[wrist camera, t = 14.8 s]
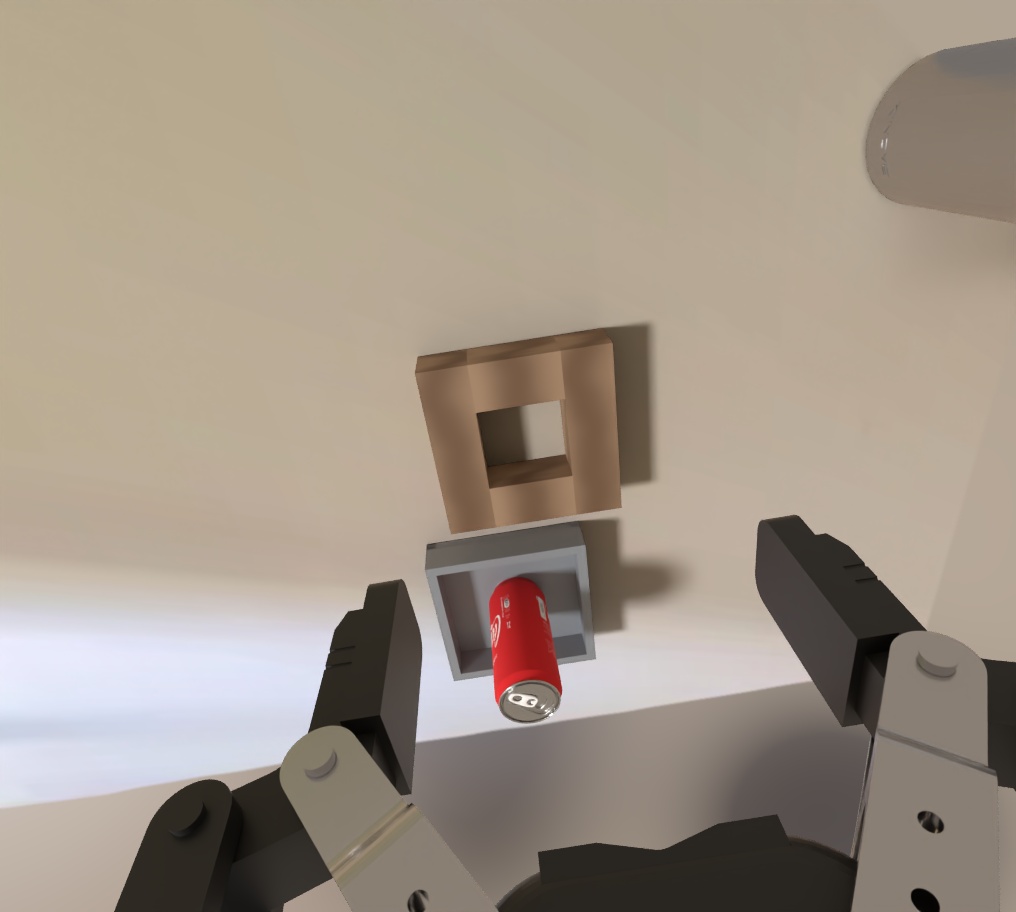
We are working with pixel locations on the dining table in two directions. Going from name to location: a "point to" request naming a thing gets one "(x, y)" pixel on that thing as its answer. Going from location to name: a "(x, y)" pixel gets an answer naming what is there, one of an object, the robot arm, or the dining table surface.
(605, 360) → the socket holder
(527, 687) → the beverage can
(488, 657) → the tray
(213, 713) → the dining table surface
